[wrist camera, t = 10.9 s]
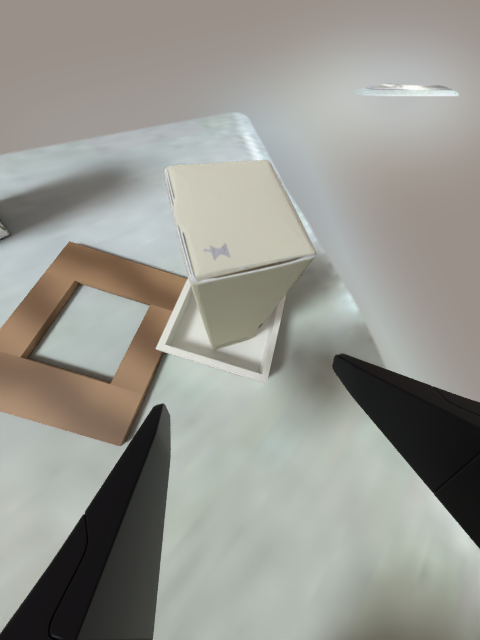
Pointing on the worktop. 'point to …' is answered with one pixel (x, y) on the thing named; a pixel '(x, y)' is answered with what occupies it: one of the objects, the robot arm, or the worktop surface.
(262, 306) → the box
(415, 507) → the worktop surface
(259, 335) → the white tray
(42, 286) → the walnut frame
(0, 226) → the syrup box
